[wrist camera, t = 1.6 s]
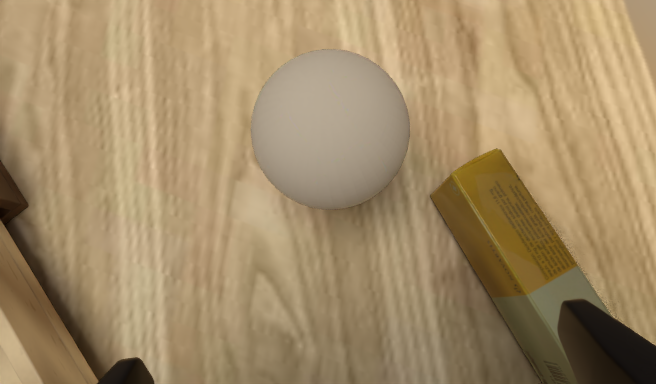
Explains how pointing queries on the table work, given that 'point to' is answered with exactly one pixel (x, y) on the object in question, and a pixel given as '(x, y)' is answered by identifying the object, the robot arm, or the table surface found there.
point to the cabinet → (9, 197)
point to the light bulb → (330, 129)
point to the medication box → (515, 257)
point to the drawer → (33, 328)
